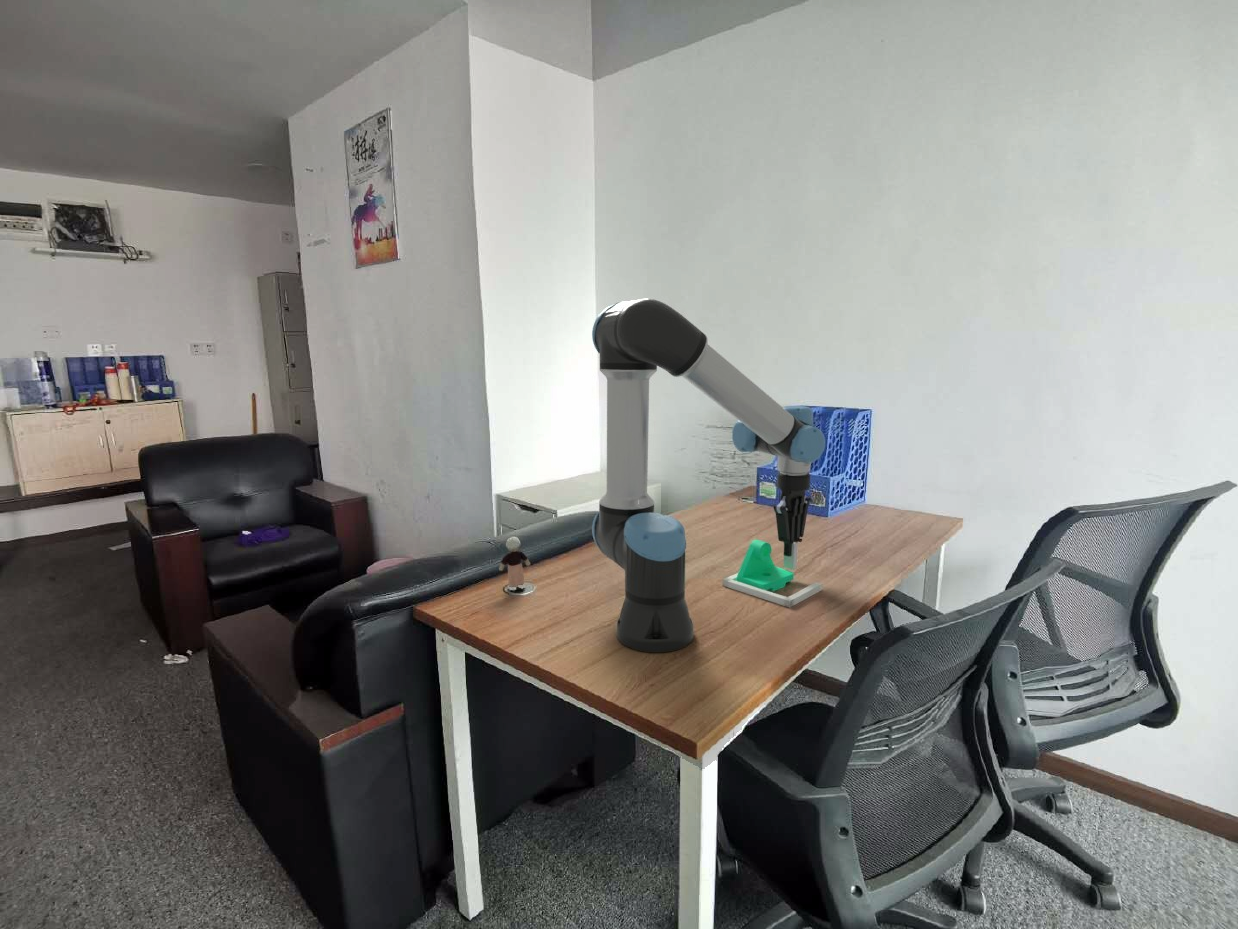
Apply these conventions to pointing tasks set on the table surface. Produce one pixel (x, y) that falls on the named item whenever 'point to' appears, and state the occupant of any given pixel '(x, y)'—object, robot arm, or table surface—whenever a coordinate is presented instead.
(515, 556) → the grandmother figurine
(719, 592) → the table surface
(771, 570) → the camera mount
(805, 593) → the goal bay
